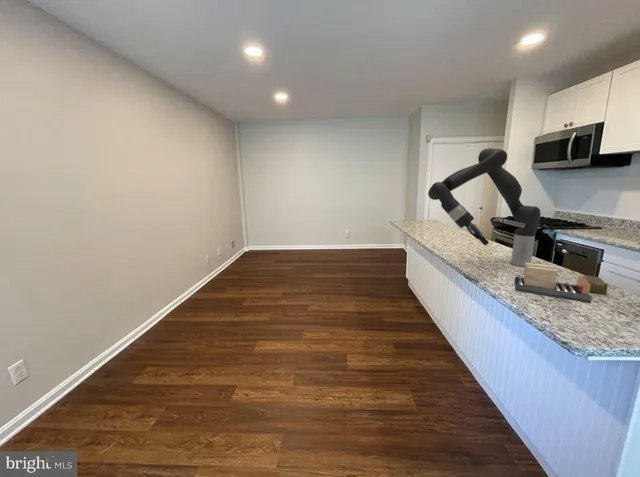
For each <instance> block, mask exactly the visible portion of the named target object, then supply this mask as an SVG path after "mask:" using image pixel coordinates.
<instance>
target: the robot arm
mask: <svg viewBox="0 0 640 477" xmlns="http://www.w3.org/2000/svg"><path fill="white" fill-rule="evenodd" d="M477 157H478V158H477V159H478V163H476V164H473V165H470V166H467V167H464V168H461V169H459V170H457V171H455V172H453V173H452V174H450V175H449V176H447V177H446V178H444V180H442V181H436V182H434V183H433V184H432V185H431V187H430V188H429V189H428V192H427V195H428V197H429V198H430V199H431V200H434V201H436V200H437V201H439V202H440V203H441V204H440V206H441V208H442V209H443V210H444V211H445V213H446V214H448V216H449V217H450V219H451V220H452V221H453V222H454V223H455V224H456V225H457V226H458V227H459V228H460V229H462V228H464V227H466V231H467V232H468V233H469V234H470V235H472V236H473V237H474V238H475V239H476V240H479V242H481V244H483V246H487V245H488V244H490V241H488V239H487V238H486V237H485V236H484V234H483V233H482V231H481V230H480V228H478V225H477V224H475V223H473V220H475V217H474V216H473V215H472V214H471V213H470V212H469V211H468V209H466V207H464V205H462V204H461V203H460V202H459V201H458V200H457V199H456V198H455V197H454V196H453V194H452V191H454V190H455V189H458V188H459V187H461V186H462V185H464V184H466V183H468V182H469V181H471V180H473V179H474V180H475V178H477V177H479V176H482V175H485V174H487V175H488V176H489V177H490V179H491V181H492V182H493V183H494V184H493V185H494V186H496V188H497V190H498V192H499V194H500V195H501V197H502V198H503V199H504V201H505V203H506V204H507V206H508V208H509V210H510V212H511V215H512V217H513V219H514V220H515V221H516V222H519V223H522V224H523V223H525V224H524V226H523V227H520V228H516V229H515V230H514V237H513V243H512V244H513V245H512V250H511V251H512V252H511V257H510V258H511V260H510V264H511V265H513V266H516V267H522V268H525V265H526V263H532V259H533V251H534V246H535V238H536V233H537V231H538V227H539V222H540V220H541V209H540V208H539V207H538V206H534V205H533V206H532V205H524V204H523V203H522V202H521V200H520V199H521V195H522V192H523V191H522V190H523V189H522V186H521V184H520V183H519V180H517V177H515V176H514V175H513V174H512V173H511V172H509V171H508V170H506V169H505V168H504V165H505V163H506V162H507V159H508V153H507V152H506V151H505V150H504V149H500V148H484V149H483V150H481V151H480V152H479V154H478V156H477Z"/></svg>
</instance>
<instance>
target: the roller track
mask: <svg viewBox="0 0 640 477" xmlns="http://www.w3.org/2000/svg"><path fill="white" fill-rule="evenodd" d="M523 279H524V277H520V276H515V277H514V288H515V291H517V292H523V293H529V294H534V295H539V296H541V295H542V296H548V297H551V298H552V297H553V298H557V299H564V300H571V301H575V302H582V303H588V304H589V303H590V304H591V303H592V298H593V296H592V295H591V294H590V293H591V292H590V287H591V284H590V283H589V282H588V281H587V280H586V279H585V278H584V277H583V276H577V281H576V284H570V283H563V282H557V281H556V283H555V289H548V288H542V287H536V286H529V285H525V284H524V280H523Z"/></svg>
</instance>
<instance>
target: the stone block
mask: <svg viewBox="0 0 640 477" xmlns="http://www.w3.org/2000/svg"><path fill="white" fill-rule="evenodd" d="M582 277H584V278H585V279H586V280H587V281H588V282H589V283H590V284H591V287H590V292H589V293H593V294H599V295H607V292H608V283H606V281H604V280H603V279H602V278H601V277H598V276H592V275H582Z"/></svg>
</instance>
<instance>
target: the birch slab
mask: <svg viewBox="0 0 640 477" xmlns="http://www.w3.org/2000/svg"><path fill="white" fill-rule="evenodd" d="M557 277H558V269H557V268H556V266H555V265H548V264H541V263H532V262H531V263H526V265H525V267H524V273H523V278H524V279H523V280H524V284H525V285H529V286H536V287H542V288H548V289H555V283H556V282H557Z"/></svg>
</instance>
